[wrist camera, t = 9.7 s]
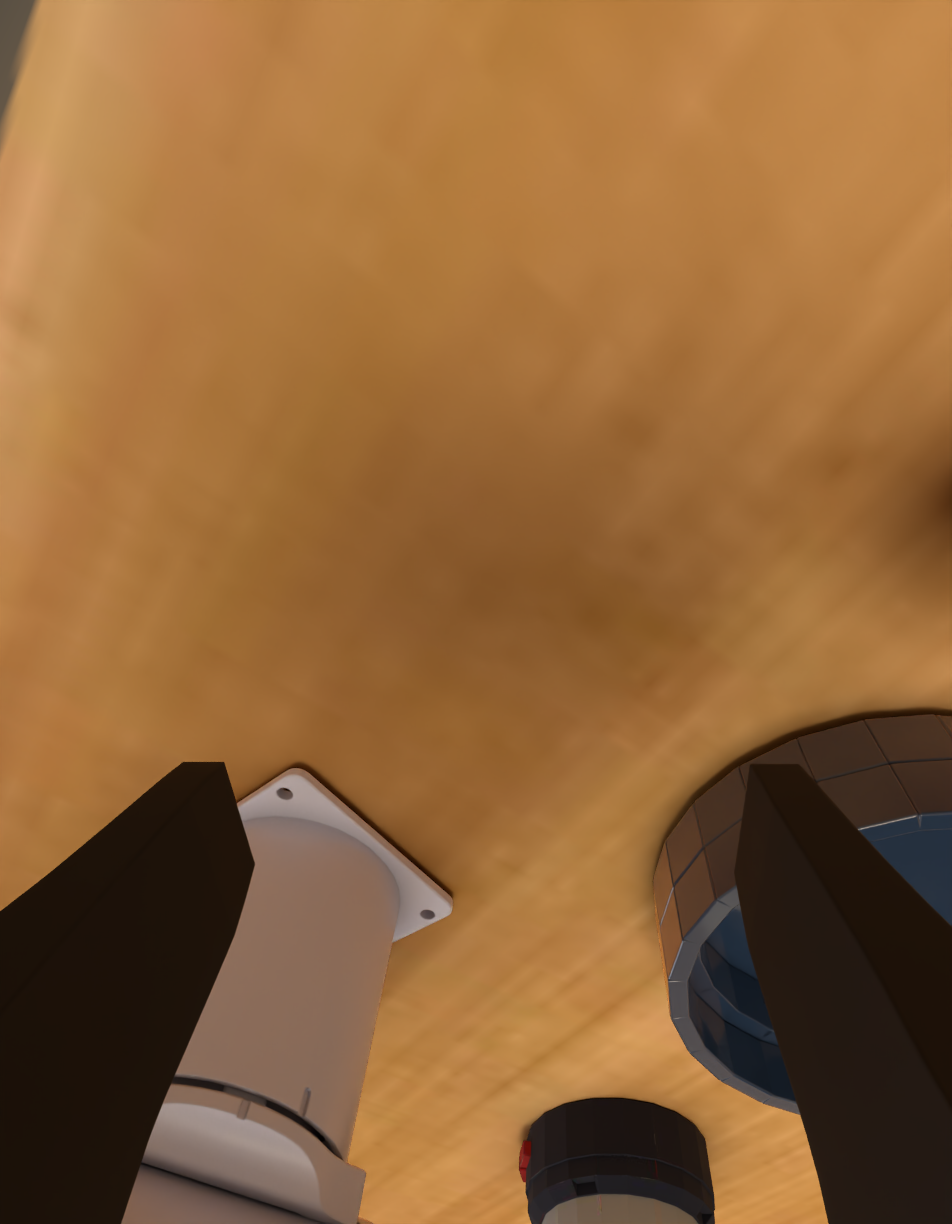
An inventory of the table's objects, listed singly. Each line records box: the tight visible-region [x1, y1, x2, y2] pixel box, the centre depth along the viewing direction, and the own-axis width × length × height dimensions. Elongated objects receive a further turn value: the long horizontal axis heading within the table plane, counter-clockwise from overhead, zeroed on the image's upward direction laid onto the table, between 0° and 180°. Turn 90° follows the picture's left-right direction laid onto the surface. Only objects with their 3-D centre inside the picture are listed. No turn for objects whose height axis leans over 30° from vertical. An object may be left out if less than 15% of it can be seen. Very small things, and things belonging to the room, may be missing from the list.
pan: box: [653, 714, 952, 1115], centre depth 23 cm, size 14×14×4 cm
